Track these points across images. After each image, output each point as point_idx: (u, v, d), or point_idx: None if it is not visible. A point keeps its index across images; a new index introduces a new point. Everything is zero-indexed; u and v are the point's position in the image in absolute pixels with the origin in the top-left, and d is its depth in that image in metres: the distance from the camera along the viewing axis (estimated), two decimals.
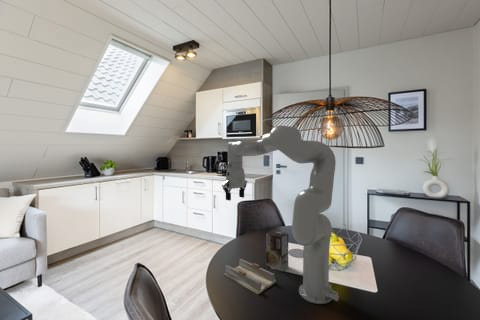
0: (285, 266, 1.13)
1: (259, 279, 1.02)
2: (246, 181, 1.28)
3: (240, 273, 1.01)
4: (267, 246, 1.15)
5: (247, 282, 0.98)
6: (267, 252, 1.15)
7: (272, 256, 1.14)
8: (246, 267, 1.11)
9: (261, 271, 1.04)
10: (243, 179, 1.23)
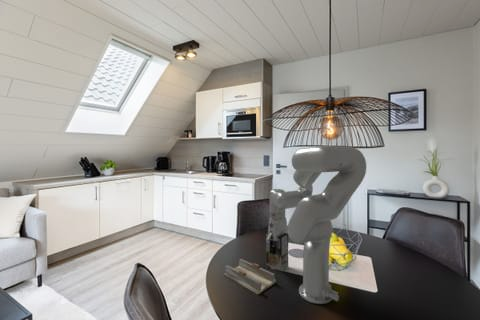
0: (285, 266, 1.13)
1: (259, 279, 1.02)
2: (286, 231, 1.20)
3: (240, 273, 1.01)
4: (267, 246, 1.15)
5: (247, 282, 0.98)
6: (267, 252, 1.15)
7: (272, 256, 1.14)
8: (246, 267, 1.11)
9: (261, 271, 1.04)
10: (286, 229, 1.15)
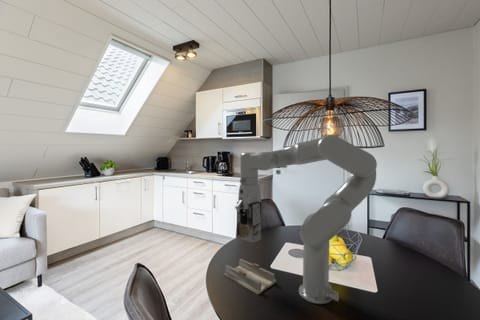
0: (257, 238, 1.01)
1: (259, 279, 1.02)
2: (261, 201, 1.08)
3: (240, 273, 1.01)
4: (238, 216, 1.03)
5: (247, 282, 0.98)
6: (238, 223, 1.03)
7: (242, 227, 1.02)
8: (246, 267, 1.11)
9: (261, 271, 1.04)
10: (259, 197, 1.03)
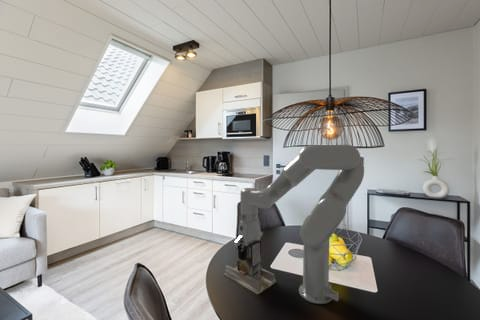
0: (257, 277, 1.01)
1: (259, 279, 1.02)
2: (261, 232, 1.09)
3: (240, 273, 1.01)
4: None
5: (247, 282, 0.98)
6: (238, 261, 1.04)
7: (242, 266, 1.02)
8: None
9: (261, 271, 1.04)
10: (259, 232, 1.04)
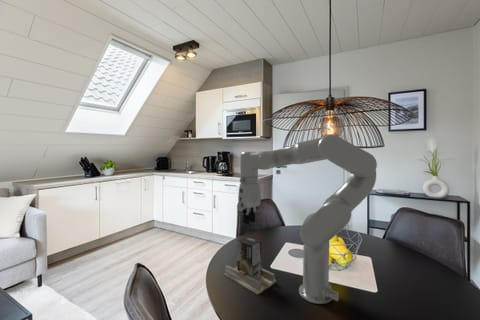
0: (257, 277, 1.01)
1: (259, 279, 1.02)
2: None
3: (240, 273, 1.01)
4: (238, 254, 1.04)
5: (247, 282, 0.98)
6: (238, 261, 1.04)
7: (242, 266, 1.02)
8: None
9: (261, 271, 1.04)
10: (259, 196, 1.03)
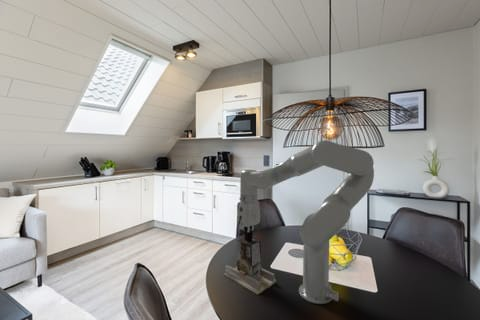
0: (257, 277, 1.01)
1: (259, 279, 1.02)
2: None
3: (240, 273, 1.01)
4: (238, 254, 1.04)
5: (247, 282, 0.98)
6: (238, 261, 1.04)
7: (242, 266, 1.02)
8: None
9: (261, 271, 1.04)
10: (258, 214, 1.04)
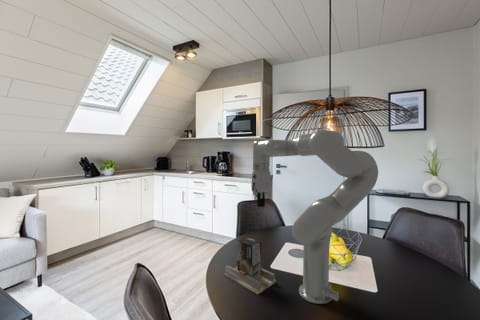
0: (257, 277, 1.01)
1: (259, 279, 1.02)
2: (268, 190, 1.15)
3: (240, 273, 1.01)
4: (238, 254, 1.04)
5: (247, 282, 0.98)
6: (238, 261, 1.04)
7: (242, 266, 1.02)
8: None
9: (261, 271, 1.04)
10: (270, 182, 1.12)
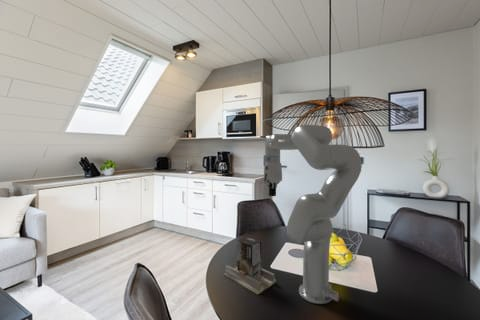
0: (257, 277, 1.01)
1: (259, 279, 1.02)
2: (279, 181, 1.24)
3: (240, 273, 1.01)
4: (238, 254, 1.04)
5: (247, 282, 0.98)
6: (238, 261, 1.04)
7: (242, 266, 1.02)
8: None
9: (261, 271, 1.04)
10: (280, 173, 1.21)
